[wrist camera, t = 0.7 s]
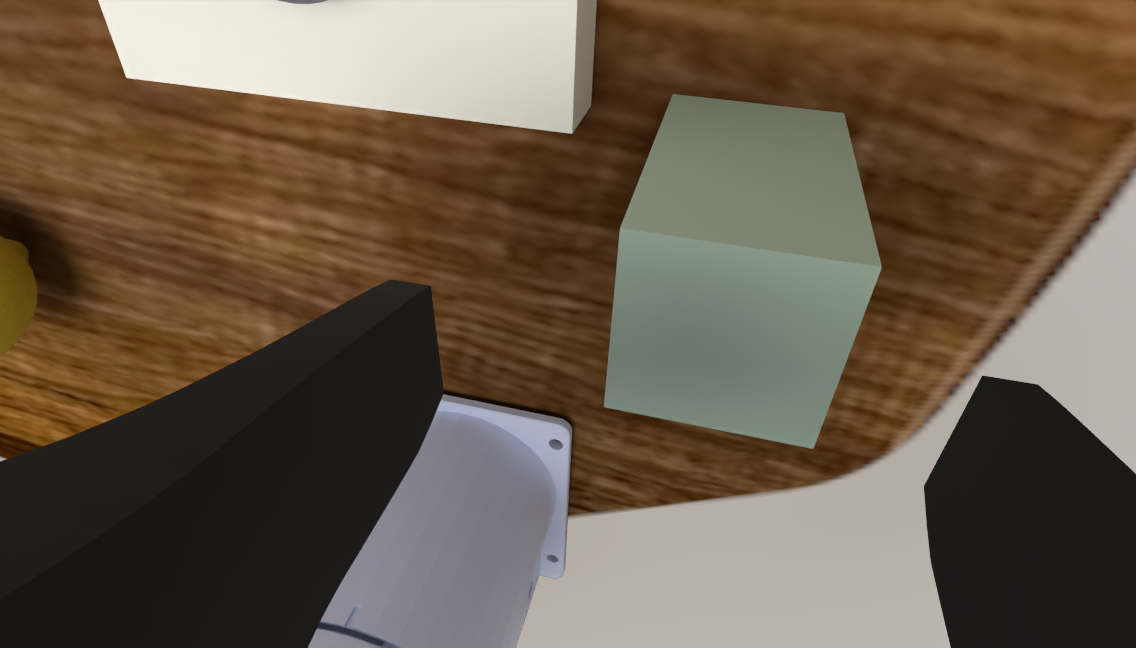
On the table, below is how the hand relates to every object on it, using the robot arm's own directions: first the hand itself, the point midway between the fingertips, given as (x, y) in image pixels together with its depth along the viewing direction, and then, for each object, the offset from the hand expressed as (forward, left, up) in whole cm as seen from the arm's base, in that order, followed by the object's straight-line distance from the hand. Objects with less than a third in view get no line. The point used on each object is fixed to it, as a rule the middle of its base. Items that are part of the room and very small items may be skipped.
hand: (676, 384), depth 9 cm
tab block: (-1, -1, -9) cm, 9 cm away
